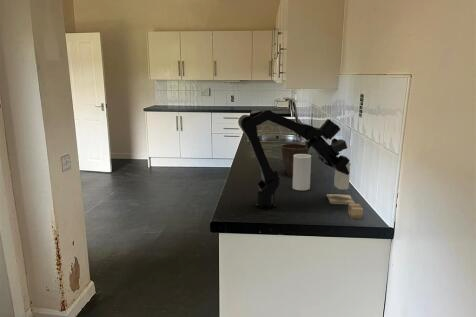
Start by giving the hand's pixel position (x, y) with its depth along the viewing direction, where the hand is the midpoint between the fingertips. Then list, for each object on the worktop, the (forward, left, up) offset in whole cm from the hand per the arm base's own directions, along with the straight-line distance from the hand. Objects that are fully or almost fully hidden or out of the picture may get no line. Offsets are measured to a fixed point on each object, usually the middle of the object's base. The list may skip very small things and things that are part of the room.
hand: (345, 172), depth 150 cm
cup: (0, +23, -13) cm, 27 cm away
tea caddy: (-1, +1, -7) cm, 7 cm away
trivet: (0, +2, -13) cm, 13 cm away
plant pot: (+16, +42, -13) cm, 46 cm away
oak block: (-11, -12, -13) cm, 21 cm away
